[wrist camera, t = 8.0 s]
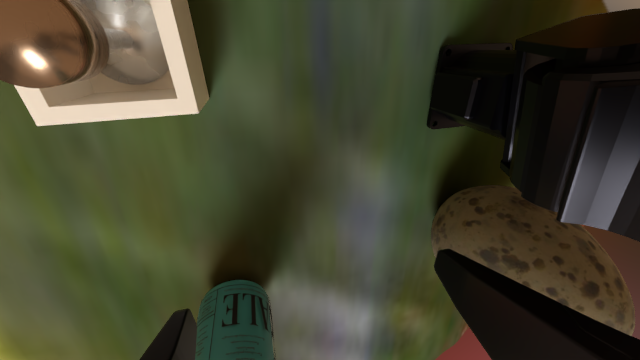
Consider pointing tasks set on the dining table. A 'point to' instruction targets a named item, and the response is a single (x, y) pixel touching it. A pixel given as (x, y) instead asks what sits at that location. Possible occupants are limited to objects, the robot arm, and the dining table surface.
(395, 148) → the dining table surface
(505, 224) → the decorative egg
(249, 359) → the beverage bottle
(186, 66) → the square box with handle
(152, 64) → the brown stemmed glass
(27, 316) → the dining table surface
